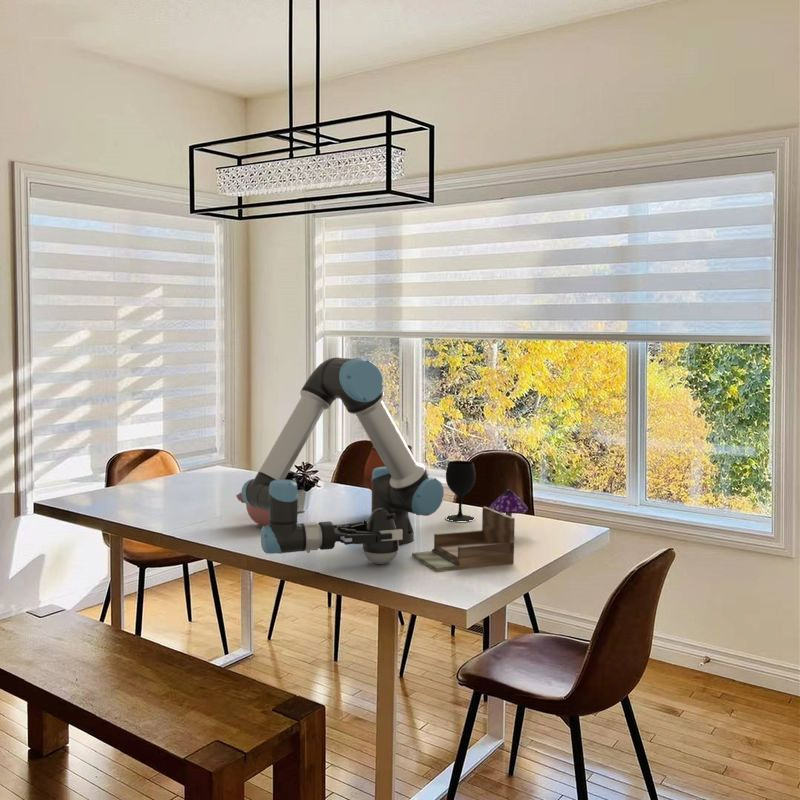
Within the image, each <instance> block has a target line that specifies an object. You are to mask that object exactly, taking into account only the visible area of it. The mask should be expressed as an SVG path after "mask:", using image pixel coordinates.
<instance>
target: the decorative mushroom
mask: <svg viewBox="0 0 800 800" xmlns="http://www.w3.org/2000/svg"><path fill="white" fill-rule="evenodd" d="M489 508H490V509H493V510H495V511H498V512H500V513H503V514H505V515H508V516H510V517H513V515H514V514H522V513H526V512H528V511H529V507H528V506H527V505H526V504H525V503H524V502H523V501H522V499H521V498H520V497H519V496H518V495H517V494H516V493H515V492H514V491H513V490H512V489H506V490H505V492H504V493H502V494H501V495H500V496H498V497H497V498H496V499H495V500H494V501H493V502H492V503H491V504H490V505H489ZM512 514H513V515H512Z"/></svg>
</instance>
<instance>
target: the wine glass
mask: <svg viewBox="0 0 800 800" xmlns="http://www.w3.org/2000/svg"><path fill="white" fill-rule="evenodd" d="M476 474H477V473H476V468H475V464H474V462H473V461H467V460H451V461H448V463H447V467H446V471H445V480H446V481H445V482H446V484H447V486H448V488H449V490H450V491H451V492H452V493H453V494H455V495H456V496H457V498H458V512H457V514H451V516H450V515H447V516H448V517H447V519H449V520H453V521H469V520H473V519H474V518H475V517H474V516H472V517H471V515H466V514H463V509H462V505H463V504H462V503H463V497H464V496H466V494H468V493H469V492H470V491H471V490H472V489H473V487H474V485H475V483H476V477H477V475H476Z"/></svg>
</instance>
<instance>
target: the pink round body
mask: <svg viewBox="0 0 800 800" xmlns="http://www.w3.org/2000/svg"><path fill="white" fill-rule="evenodd" d="M236 499H237V500H238V501H239V502H241V503H242V504H245V506H246V507H245V508H246V511H247V514H248V516H249V517H250V519H251V520H252V521H253V522H254V523H256V524H257V525H259V526H262V527H263V526H267V525H269V512H268V511H265V510H262V509H259V508H255V507H252V506H251V505H249V504H247V503H246V502H245V501H244V500H243V498H242V495H241V492H239V493H238V494H236Z"/></svg>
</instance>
